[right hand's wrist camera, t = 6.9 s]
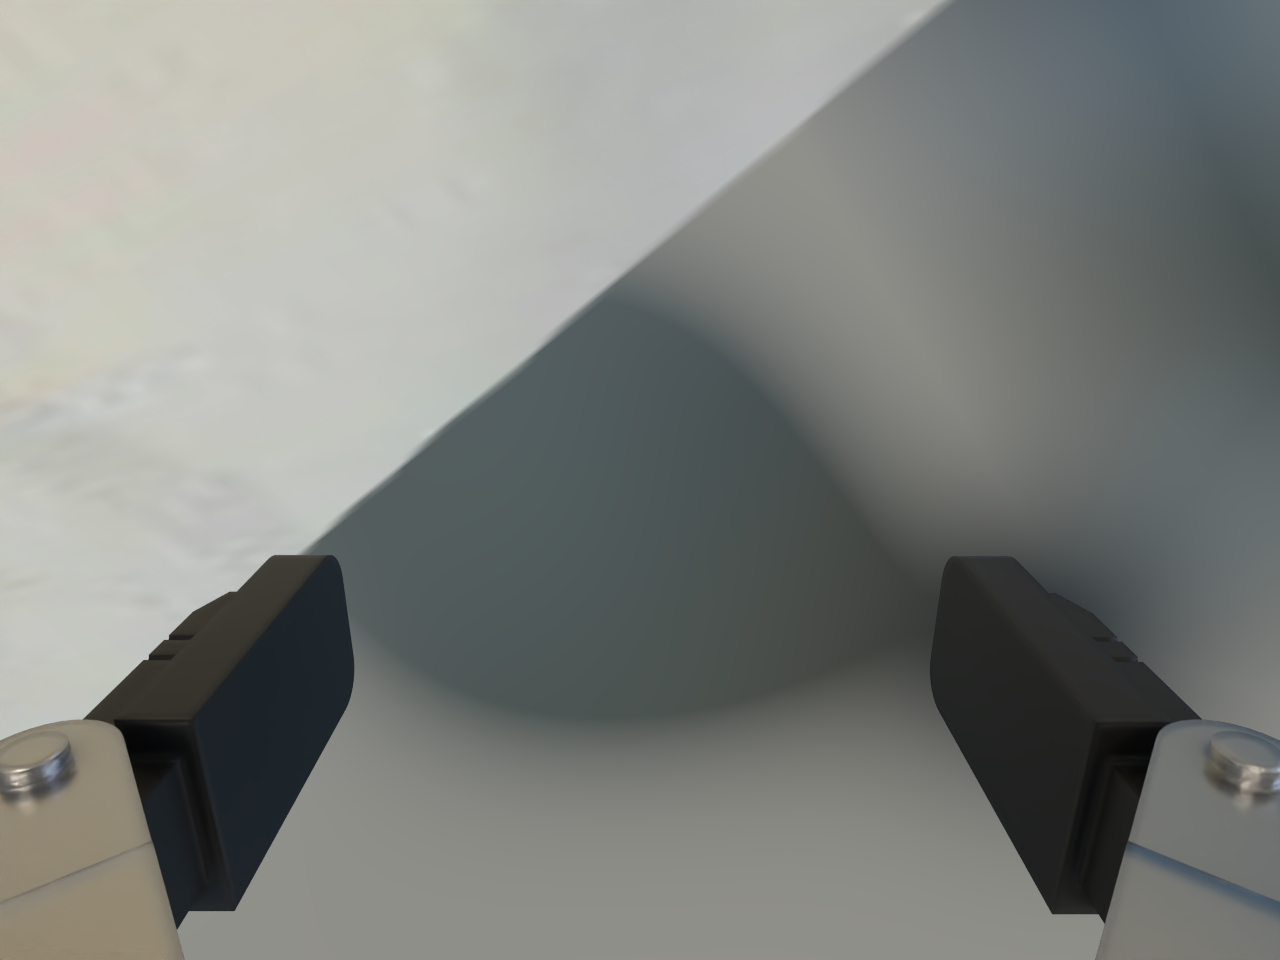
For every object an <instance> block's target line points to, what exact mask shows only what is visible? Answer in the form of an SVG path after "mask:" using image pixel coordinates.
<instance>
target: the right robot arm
mask: <svg viewBox="0 0 1280 960" xmlns="http://www.w3.org/2000/svg"><path fill="white" fill-rule="evenodd" d="M930 678H931V687H932V692H933V697H934V700H935V703H936V706H937V708H938V710H939V712H940V714H941V716H942V717H943V719H944V721H945V723H946V725H947V726H948V728H949V730H950V732H951V734H952V735H953V737H954V739H955V741H956V743H957V744H958V746H959V748H960V750H961V752H962V753H963V755H964V757H965V759H966V760H967V762H968V764H969V766H970V768H971V769H972V771H973V773H974V775H975V777H976V778H977V780H978V782H979V784H980V786H981V787H982V789H983V791H984V793H985V795H986V796H987V798H988V800H989V802H990V803H991V805H992V807H993V809H994V811H995V812H996V814H997V816H998V818H999V820H1000V821H1001V823H1002V825H1003V827H1004V829H1005V830H1006V832H1007V834H1008V836H1009V838H1010V839H1011V841H1012V843H1013V845H1014V846H1015V848H1016V850H1017V852H1018V854H1019V855H1020V857H1021V859H1022V861H1023V863H1024V864H1025V866H1026V868H1027V870H1028V872H1029V873H1030V875H1031V877H1032V879H1033V881H1034V882H1035V884H1036V886H1037V888H1038V890H1039V891H1040V893H1041V895H1042V897H1043V898H1044V900H1045V902H1046V904H1047V906H1048V907H1049V909H1050V911H1051V913H1052V914H1099V915H1100V917H1101V919H1102V920H1103V922H1104V924H1105V925H1104V929H1103V933H1102V937H1101V940H1100V944H1099V948H1098V951H1097V955H1096V959H1095V960H1280V740H1277V739H1275V738H1273V737H1270V736H1268V735H1266V734H1263V733H1260V732H1257V731H1255V730H1252V729H1249V728H1245V727H1242V726H1238V725H1234V724H1229V723H1225V722H1219V721H1211V720H1202V719H1201V718H1200V717H1199V716H1198V715H1197V714H1196V713H1195V712H1194V711H1193V710H1192V709H1191V708H1190V707H1189V706H1188V705H1187V704H1186V703H1185V702H1184V701H1183V700H1181V699H1180V698H1179V697H1178V696H1177V695H1176V694H1175V693H1174V692H1173V691H1172V690H1171V689H1170V688H1169V687H1168V686H1167V685H1166V684H1165V683H1164V682H1163V681H1162V680H1161V679H1160V678H1159V677H1158V676H1157V675H1156V674H1155V673H1154V672H1153V671H1152V670H1151V669H1149V668H1148V667H1147V666H1146V665H1145V664H1144V663H1143V662H1138V660H1137V656H1136V655H1135V654H1134V653H1133V652H1132V651H1131V650H1130V649H1129V648H1128V647H1127V646H1126V645H1125V644H1124V643H1123V642H1117V637H1116V636H1115V635H1114V634H1113V633H1112V632H1111V631H1110V630H1109V629H1108V628H1107V627H1106V626H1105V625H1104V624H1103V623H1102V622H1101V621H1100V620H1099V619H1098V618H1097V617H1096V616H1095V615H1094V614H1093V613H1091V612H1089V611H1087V610H1086V609H1084V608H1082V607H1080V606H1078V605H1076V604H1074V603H1073V602H1071V601H1069V600H1067V599H1065V598H1063V597H1062V596H1060V595H1058V594H1056V593H1048V592H1047V591H1046V590H1045V589H1044V588H1043V587H1042V586H1041V585H1040V584H1039V583H1038V582H1037V581H1036V580H1035V579H1034V578H1033V577H1032V576H1031V575H1030V574H1029V573H1028V571H1027V570H1026V569H1025V568H1024V567H1023V566H1022V565H1021V564H1020V563H1019V562H1018V561H1017V560H1016V559H1014V558H1013V557H1010V556H953V557H951V558H950V559H949V560H948V561H947V563H946V565H945V568H944V571H943V576H942V583H941V590H940V597H939V604H938V611H937V618H936V625H935V632H934V639H933V646H932V653H931V662H930ZM353 681H354V657H353V649H352V642H351V635H350V628H349V620H348V613H347V606H346V599H345V592H344V584H343V577H342V572H341V568H340V565H339V562H338V561H337V559H336V558H335V557H334V556H332V555H274V556H272V557H270V558H269V559H268V560H267V561H266V562H265V563H264V564H263V565H262V566H261V567H260V568H259V569H258V570H257V571H256V572H255V574H254V575H253V576H252V577H251V578H250V579H249V580H248V581H247V582H246V583H245V584H244V585H243V586H242V587H241V588H240V589H239V590H238V591H237V592H228V593H227V594H225V595H223V596H221V597H219V598H217V599H216V600H214V601H212V602H210V603H208V604H206V605H205V606H203V607H201V608H199V609H197V610H195V611H194V612H192V613H191V614H190V615H189V616H188V617H187V618H186V619H185V620H184V621H183V622H182V623H181V624H180V625H179V626H178V627H177V628H176V629H175V630H174V631H173V632H172V633H171V634H170V635H169V640H164V641H163V642H162V643H161V644H160V645H159V646H158V647H157V648H156V649H155V650H154V651H152V652H151V653H150V654H149V659H148V660H143V661H142V662H141V663H140V664H139V665H138V666H137V667H136V668H135V669H134V670H133V671H132V672H131V673H130V674H129V675H128V676H127V677H126V678H125V679H124V680H123V681H122V682H121V683H120V684H119V685H118V686H117V687H116V688H115V689H114V690H113V691H112V692H111V693H110V694H108V695H107V696H106V697H105V698H104V699H103V700H102V701H101V702H100V703H99V704H98V705H97V706H96V707H95V708H94V709H93V710H92V711H91V712H90V713H89V714H88V715H87V716H86V717H85V718H84V719H83V720H69V721H60V722H55V723H50V724H46V725H42V726H38V727H35V728H31V729H28V730H25V731H22V732H20V733H17V734H14V735H12V736H10V737H7V738H5V739H3V740H0V960H185V959H184V955H183V951H182V947H181V944H180V940H179V937H178V933H177V929H178V927H179V926H180V924H181V923H182V921H183V919H184V918H185V916H186V914H187V913H188V911H235V909H236V907H237V905H238V904H239V902H240V900H241V898H242V896H243V895H244V893H245V891H246V889H247V887H248V886H249V884H250V882H251V880H252V878H253V877H254V875H255V873H256V871H257V869H258V867H259V866H260V864H261V862H262V860H263V858H264V857H265V855H266V853H267V851H268V849H269V847H270V846H271V844H272V842H273V840H274V838H275V837H276V835H277V833H278V831H279V829H280V828H281V826H282V824H283V822H284V820H285V818H286V817H287V815H288V813H289V811H290V809H291V808H292V806H293V804H294V802H295V800H296V798H297V797H298V795H299V793H300V791H301V789H302V788H303V786H304V784H305V782H306V780H307V778H308V777H309V775H310V773H311V771H312V769H313V768H314V766H315V764H316V762H317V760H318V758H319V757H320V755H321V753H322V751H323V750H324V748H325V746H326V744H327V742H328V740H329V739H330V737H331V735H332V733H333V731H334V729H335V728H336V726H337V724H338V722H339V720H340V719H341V717H342V715H343V713H344V711H345V710H346V708H347V705H348V703H349V700H350V697H351V693H352V688H353Z"/></svg>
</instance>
